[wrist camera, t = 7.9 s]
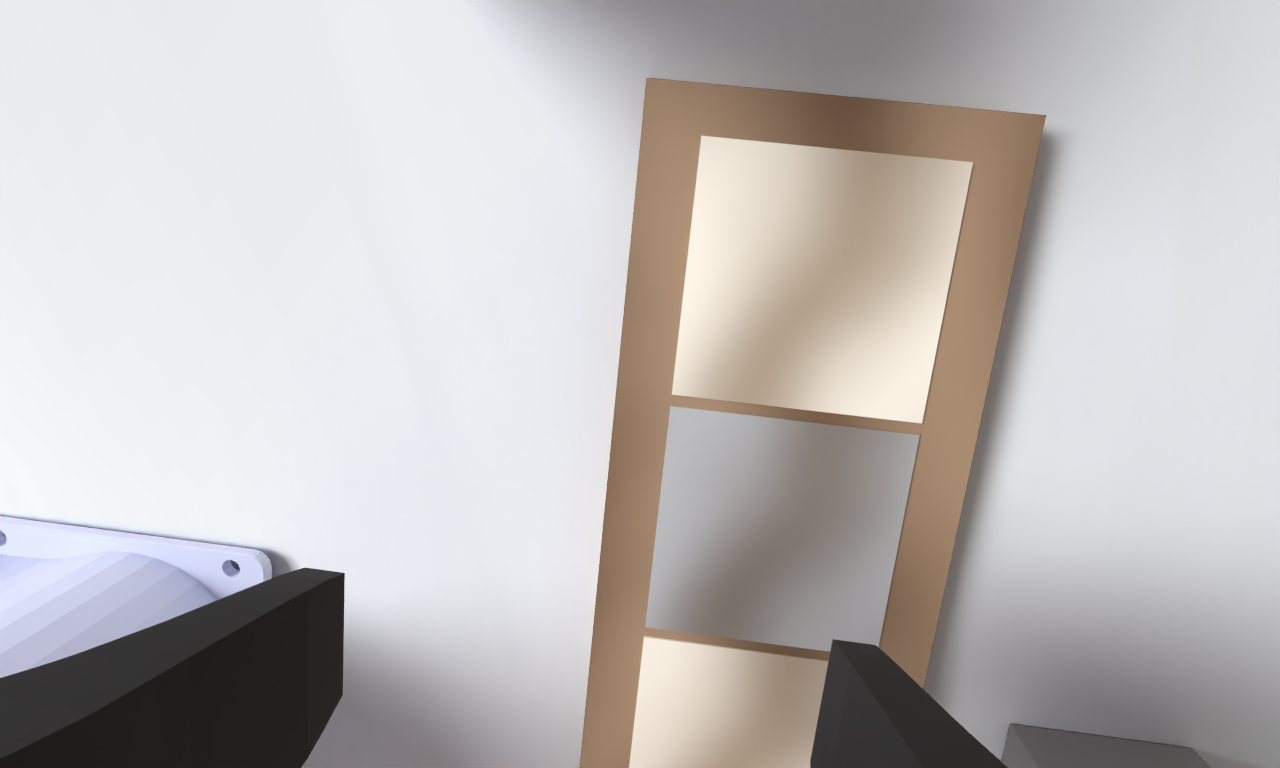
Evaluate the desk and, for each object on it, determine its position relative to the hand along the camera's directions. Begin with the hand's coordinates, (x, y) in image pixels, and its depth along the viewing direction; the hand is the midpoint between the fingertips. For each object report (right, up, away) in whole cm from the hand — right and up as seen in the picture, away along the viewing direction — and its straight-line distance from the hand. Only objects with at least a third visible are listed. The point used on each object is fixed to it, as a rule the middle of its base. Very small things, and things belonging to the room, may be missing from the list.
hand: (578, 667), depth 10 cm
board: (+4, -3, +10) cm, 11 cm away
